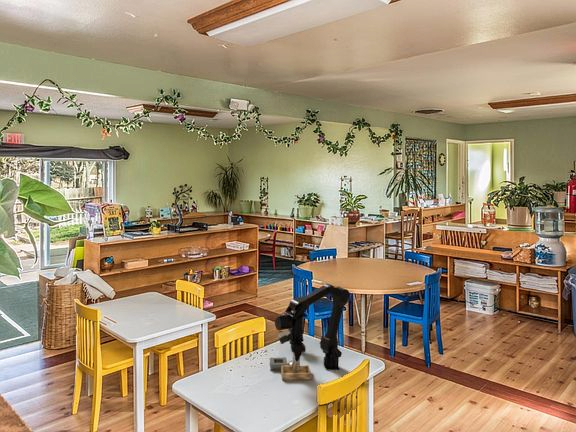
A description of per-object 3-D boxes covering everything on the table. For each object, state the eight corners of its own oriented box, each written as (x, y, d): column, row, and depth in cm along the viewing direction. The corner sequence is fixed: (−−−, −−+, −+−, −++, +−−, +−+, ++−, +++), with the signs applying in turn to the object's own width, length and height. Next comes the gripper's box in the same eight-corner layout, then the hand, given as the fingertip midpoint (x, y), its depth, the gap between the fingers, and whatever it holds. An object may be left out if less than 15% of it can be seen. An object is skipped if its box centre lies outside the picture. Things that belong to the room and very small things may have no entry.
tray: (308, 371, 211) (308, 365, 211) (311, 380, 202) (311, 373, 202) (280, 371, 210) (281, 365, 210) (282, 380, 201) (282, 374, 201)
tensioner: (298, 363, 220) (298, 357, 220) (300, 370, 212) (300, 364, 212) (269, 363, 219) (269, 357, 219) (270, 370, 211) (270, 364, 211)
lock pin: (299, 367, 208) (300, 346, 207) (300, 370, 204) (301, 349, 203) (291, 367, 208) (291, 346, 207) (292, 371, 204) (292, 350, 203)
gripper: (278, 320, 213) (277, 351, 214) (280, 334, 194) (280, 368, 195) (301, 320, 213) (300, 351, 215) (306, 334, 195) (305, 368, 196)
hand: (296, 359), depth 205 cm, fingers closed on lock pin, 3 cm apart
